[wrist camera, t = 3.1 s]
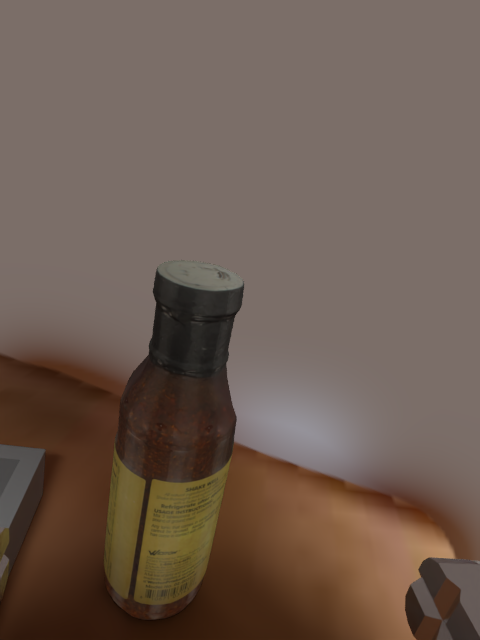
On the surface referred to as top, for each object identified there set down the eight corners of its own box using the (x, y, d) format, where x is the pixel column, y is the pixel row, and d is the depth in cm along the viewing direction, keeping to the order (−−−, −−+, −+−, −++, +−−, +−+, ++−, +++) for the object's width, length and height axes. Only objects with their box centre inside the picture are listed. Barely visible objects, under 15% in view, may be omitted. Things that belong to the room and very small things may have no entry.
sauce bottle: (216, 557, 29) (296, 281, 22) (173, 649, 24) (261, 318, 16) (131, 516, 31) (178, 244, 23) (72, 593, 25) (109, 266, 18)
